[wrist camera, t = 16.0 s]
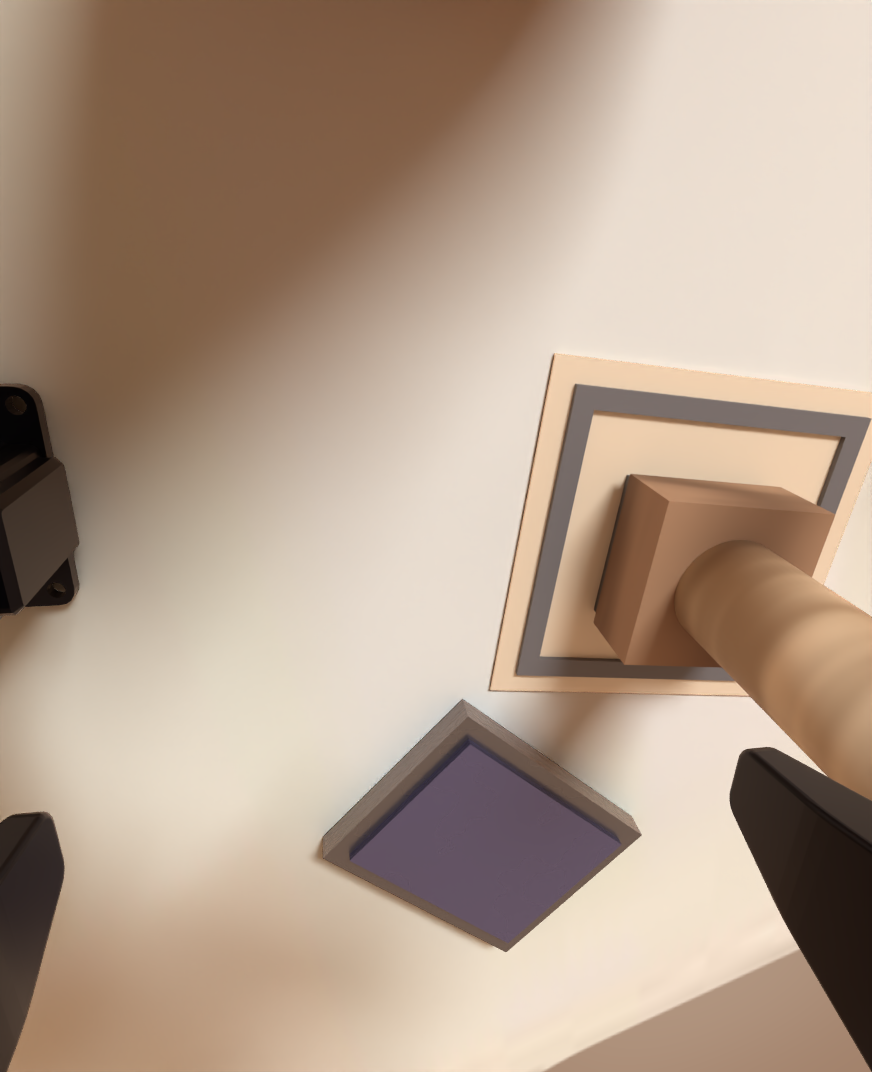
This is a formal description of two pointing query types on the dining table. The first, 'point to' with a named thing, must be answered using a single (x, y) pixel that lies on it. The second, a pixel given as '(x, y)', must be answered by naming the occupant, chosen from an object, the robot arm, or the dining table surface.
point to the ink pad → (480, 830)
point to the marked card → (669, 451)
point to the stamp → (743, 608)
